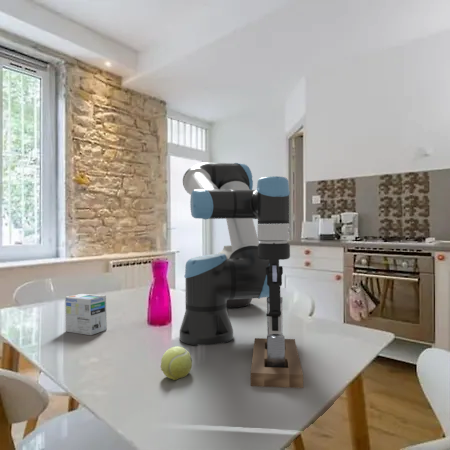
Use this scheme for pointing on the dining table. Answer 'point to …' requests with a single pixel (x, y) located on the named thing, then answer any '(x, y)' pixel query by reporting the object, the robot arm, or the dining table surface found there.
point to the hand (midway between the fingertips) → (275, 340)
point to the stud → (268, 316)
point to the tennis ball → (176, 363)
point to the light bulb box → (86, 314)
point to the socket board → (276, 376)
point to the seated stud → (276, 350)
